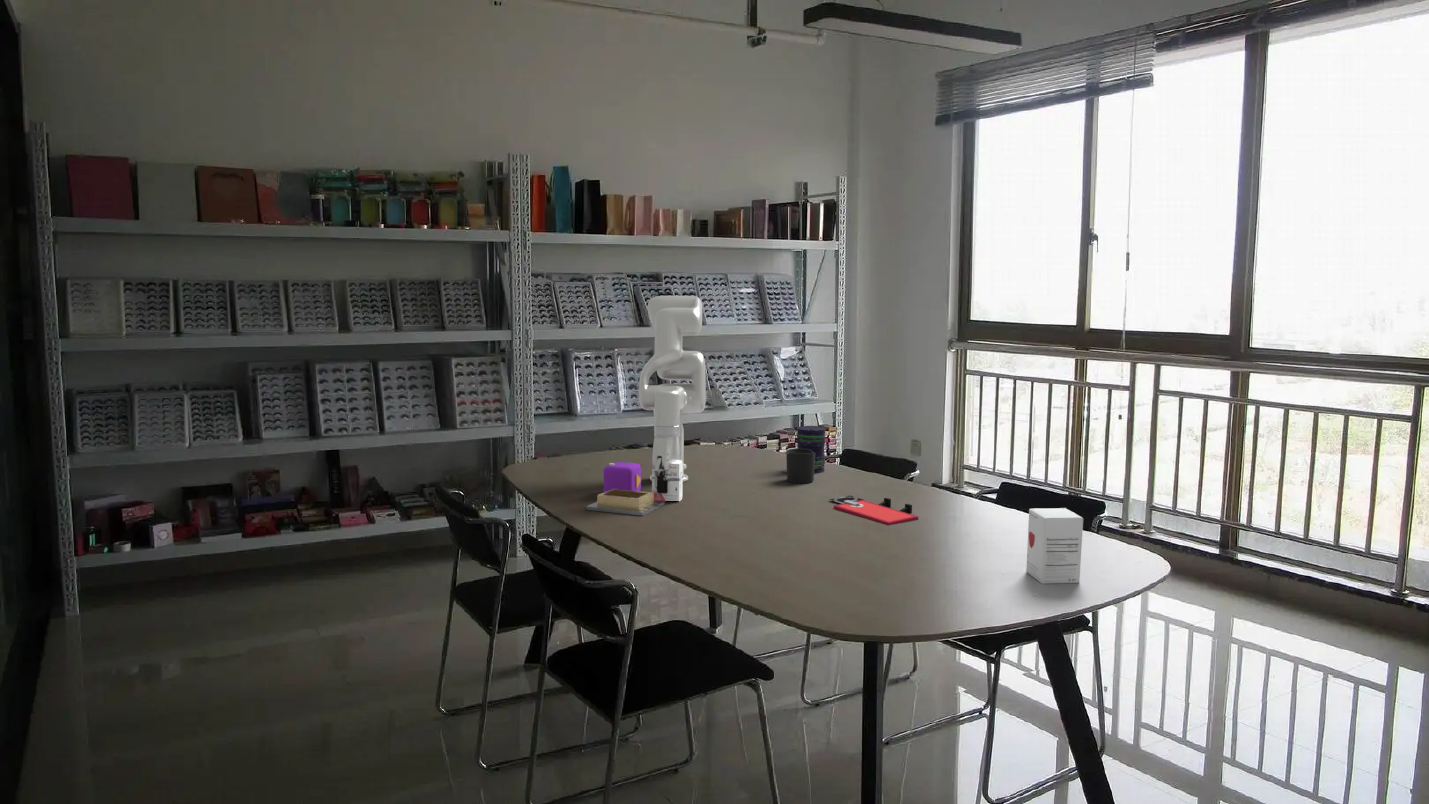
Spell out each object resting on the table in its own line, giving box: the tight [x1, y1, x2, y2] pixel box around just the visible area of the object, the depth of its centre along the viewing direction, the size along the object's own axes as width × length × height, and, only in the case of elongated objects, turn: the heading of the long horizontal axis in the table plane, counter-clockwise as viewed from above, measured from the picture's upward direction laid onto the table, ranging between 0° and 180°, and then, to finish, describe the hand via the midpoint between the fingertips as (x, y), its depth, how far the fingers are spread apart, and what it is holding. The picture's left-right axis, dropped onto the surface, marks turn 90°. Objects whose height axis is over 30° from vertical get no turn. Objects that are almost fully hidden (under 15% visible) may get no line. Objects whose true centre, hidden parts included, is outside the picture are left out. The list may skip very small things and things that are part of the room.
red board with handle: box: [829, 495, 919, 526], centre depth 280 cm, size 30×3×15 cm
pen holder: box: [785, 448, 815, 485], centre depth 319 cm, size 9×9×10 cm
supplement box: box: [1025, 507, 1084, 585], centre depth 218 cm, size 9×9×15 cm
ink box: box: [651, 460, 684, 502], centre depth 290 cm, size 9×5×12 cm, turn 80°
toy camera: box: [603, 461, 642, 493], centre depth 299 cm, size 11×14×10 cm
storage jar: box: [796, 425, 826, 474], centre depth 336 cm, size 10×10×15 cm
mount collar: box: [585, 489, 665, 517], centre depth 281 cm, size 14×18×4 cm
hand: (666, 490), depth 291 cm, fingers closed on ink box, 5 cm apart
